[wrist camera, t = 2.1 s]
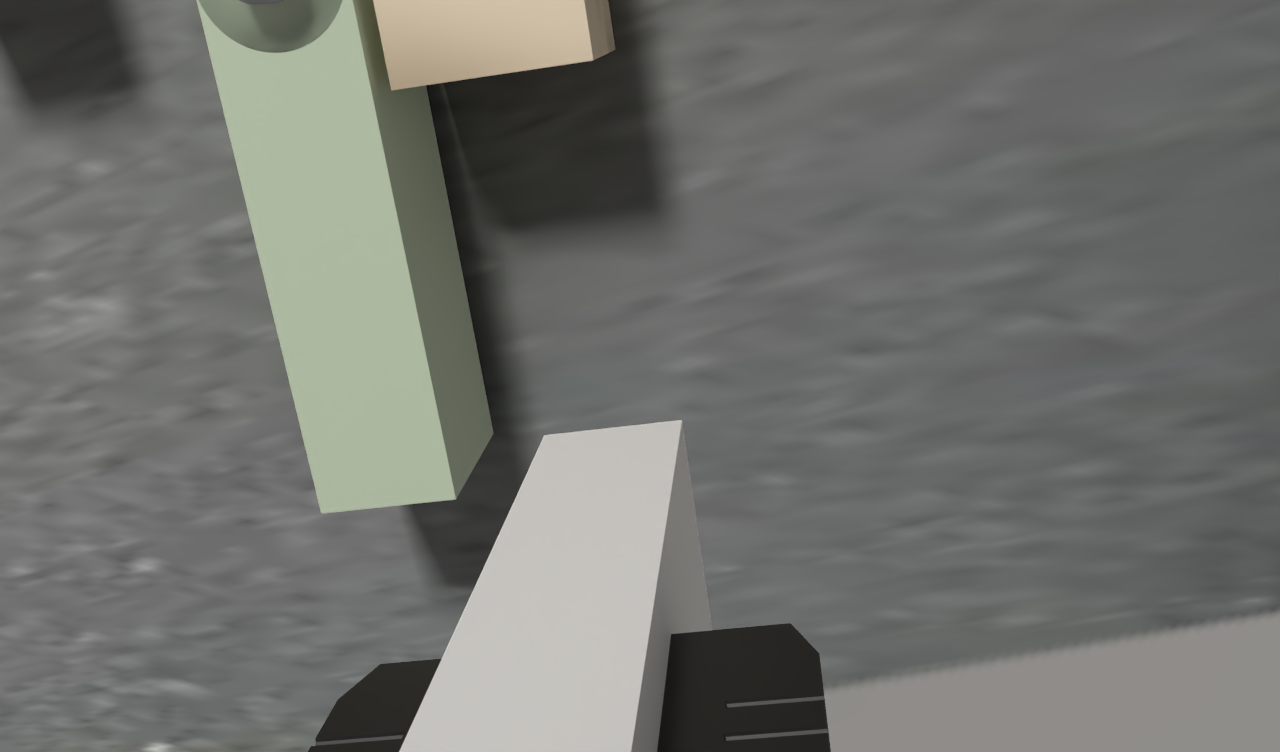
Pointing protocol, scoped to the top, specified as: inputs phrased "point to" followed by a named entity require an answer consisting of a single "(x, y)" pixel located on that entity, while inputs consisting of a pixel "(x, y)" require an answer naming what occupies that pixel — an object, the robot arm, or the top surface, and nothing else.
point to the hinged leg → (352, 249)
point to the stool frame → (487, 37)
